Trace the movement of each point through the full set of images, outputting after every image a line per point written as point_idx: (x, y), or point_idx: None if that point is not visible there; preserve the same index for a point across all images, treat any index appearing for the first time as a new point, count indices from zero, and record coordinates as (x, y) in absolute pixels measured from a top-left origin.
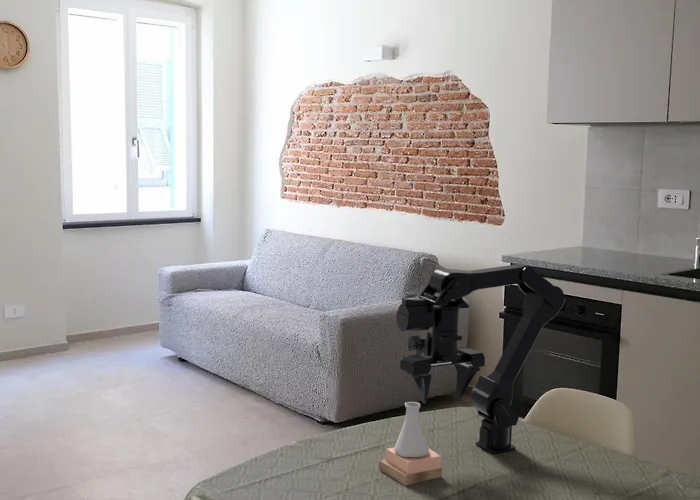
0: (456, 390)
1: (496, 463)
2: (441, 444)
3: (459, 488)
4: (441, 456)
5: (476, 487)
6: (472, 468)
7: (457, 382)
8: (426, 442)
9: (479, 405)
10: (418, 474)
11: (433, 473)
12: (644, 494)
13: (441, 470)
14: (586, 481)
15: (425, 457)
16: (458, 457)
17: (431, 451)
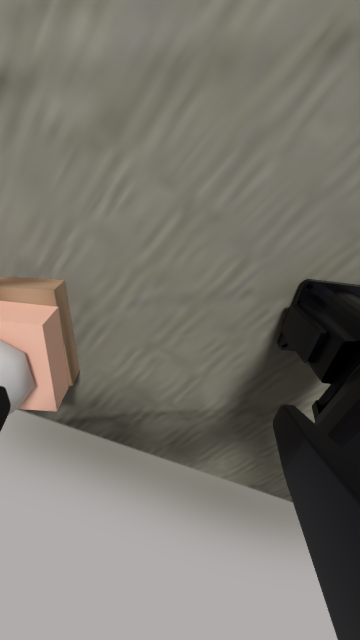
0: (304, 438)
1: (234, 376)
2: (228, 218)
3: (82, 413)
4: (56, 410)
5: (114, 422)
6: (170, 371)
7: (350, 512)
8: (13, 401)
9: (349, 406)
10: None
11: None
12: None
13: (74, 380)
14: None
15: None
16: (191, 317)
17: (45, 384)
